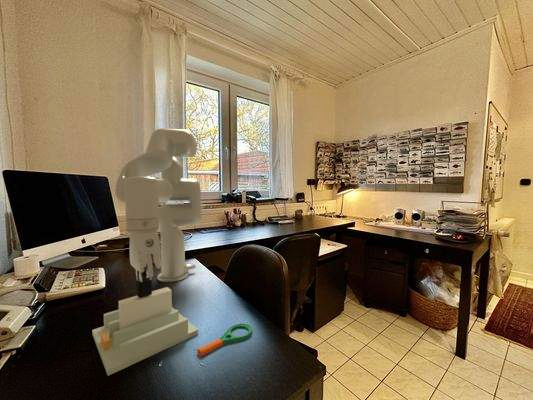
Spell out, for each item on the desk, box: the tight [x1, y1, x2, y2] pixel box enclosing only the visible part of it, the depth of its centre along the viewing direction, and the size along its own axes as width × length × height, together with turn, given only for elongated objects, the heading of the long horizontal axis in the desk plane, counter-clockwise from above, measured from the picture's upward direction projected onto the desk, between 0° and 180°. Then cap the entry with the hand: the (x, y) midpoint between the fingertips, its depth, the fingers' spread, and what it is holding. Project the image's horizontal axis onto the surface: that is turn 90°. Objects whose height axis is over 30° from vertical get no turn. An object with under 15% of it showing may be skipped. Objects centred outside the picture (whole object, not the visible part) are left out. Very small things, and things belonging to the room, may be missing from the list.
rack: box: [91, 306, 199, 377], centre depth 61 cm, size 20×19×5 cm
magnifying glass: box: [197, 323, 253, 357], centre depth 59 cm, size 15×6×2 cm, turn 135°
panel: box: [118, 286, 173, 330], centre depth 62 cm, size 12×3×9 cm, turn 134°
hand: (144, 295), depth 61 cm, fingers closed
